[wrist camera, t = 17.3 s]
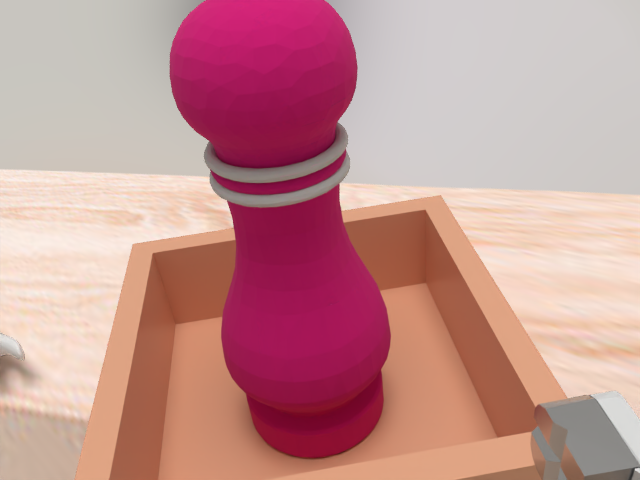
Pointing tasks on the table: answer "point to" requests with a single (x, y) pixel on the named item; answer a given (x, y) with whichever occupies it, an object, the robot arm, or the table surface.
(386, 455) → the crate
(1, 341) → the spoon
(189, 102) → the pepper mill
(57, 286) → the table surface
